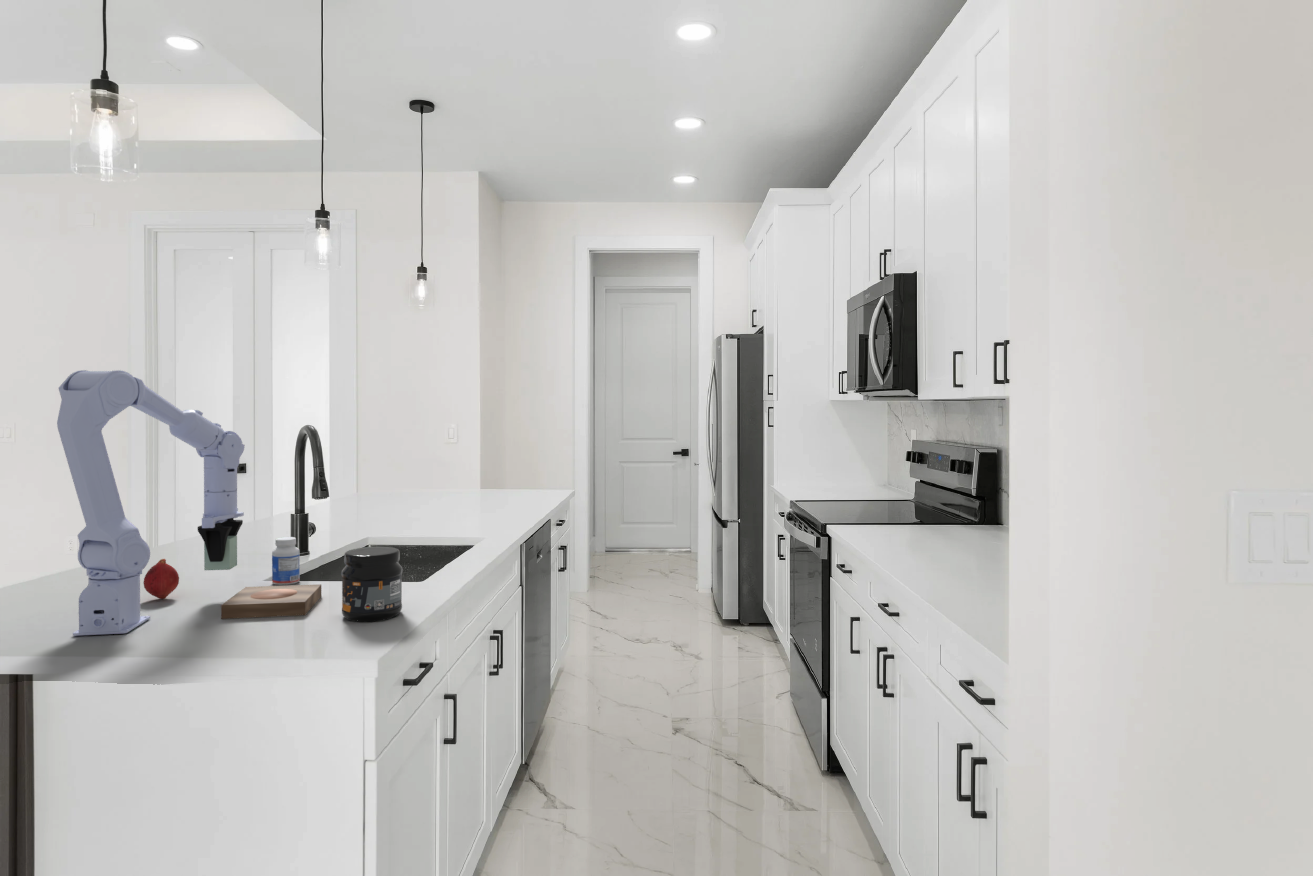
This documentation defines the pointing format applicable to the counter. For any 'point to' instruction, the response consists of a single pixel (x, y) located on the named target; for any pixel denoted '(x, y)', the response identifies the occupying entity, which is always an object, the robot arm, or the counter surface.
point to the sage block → (229, 556)
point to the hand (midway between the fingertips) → (220, 559)
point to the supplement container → (371, 584)
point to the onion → (161, 580)
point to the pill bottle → (285, 562)
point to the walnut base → (271, 601)
